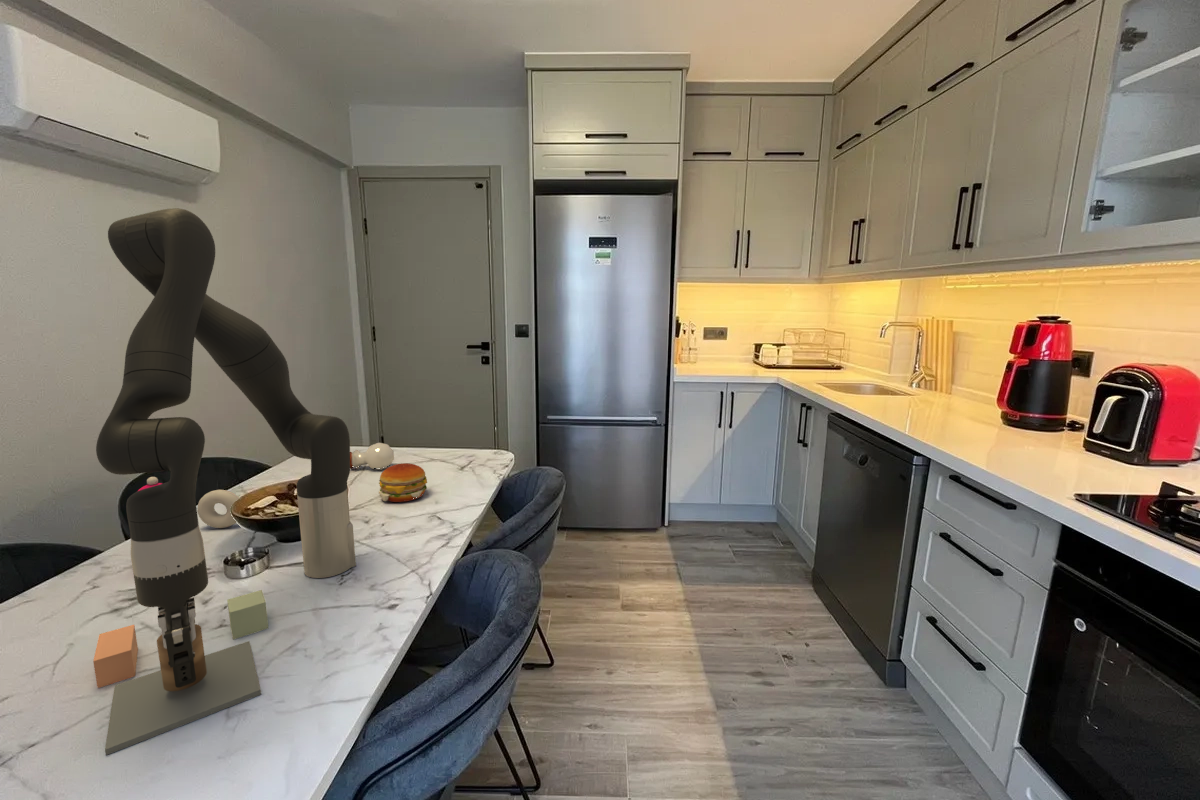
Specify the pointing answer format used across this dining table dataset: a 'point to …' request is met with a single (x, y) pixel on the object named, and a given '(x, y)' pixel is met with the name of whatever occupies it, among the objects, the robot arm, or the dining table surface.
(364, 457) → the potion bottle
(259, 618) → the sage cube
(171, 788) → the dining table surface
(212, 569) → the dining table surface
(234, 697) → the slate mat
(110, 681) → the terracotta brick
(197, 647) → the walnut cylinder
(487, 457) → the dining table surface
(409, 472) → the burger
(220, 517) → the donut
